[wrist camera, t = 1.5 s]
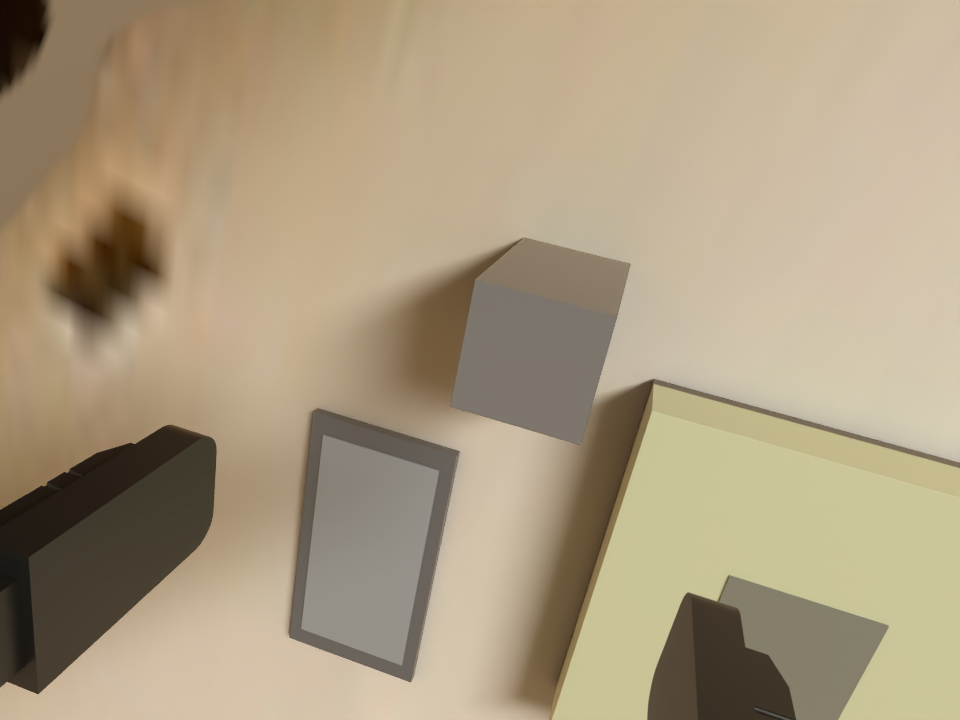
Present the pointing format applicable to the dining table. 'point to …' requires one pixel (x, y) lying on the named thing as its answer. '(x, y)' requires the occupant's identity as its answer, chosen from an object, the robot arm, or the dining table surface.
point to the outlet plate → (776, 563)
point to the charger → (539, 338)
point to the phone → (369, 541)
